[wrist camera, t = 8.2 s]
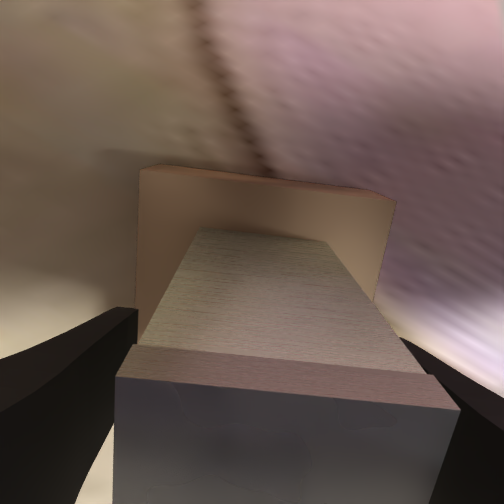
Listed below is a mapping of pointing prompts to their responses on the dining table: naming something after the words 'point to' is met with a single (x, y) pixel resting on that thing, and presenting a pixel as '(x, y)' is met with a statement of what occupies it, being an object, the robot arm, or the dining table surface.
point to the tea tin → (274, 387)
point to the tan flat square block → (251, 222)
